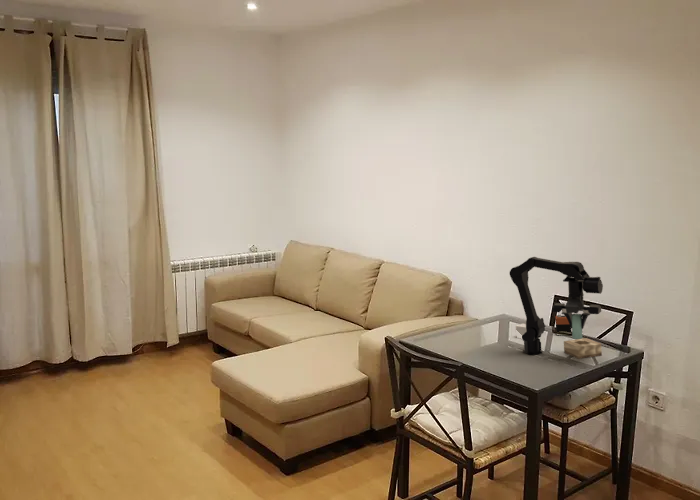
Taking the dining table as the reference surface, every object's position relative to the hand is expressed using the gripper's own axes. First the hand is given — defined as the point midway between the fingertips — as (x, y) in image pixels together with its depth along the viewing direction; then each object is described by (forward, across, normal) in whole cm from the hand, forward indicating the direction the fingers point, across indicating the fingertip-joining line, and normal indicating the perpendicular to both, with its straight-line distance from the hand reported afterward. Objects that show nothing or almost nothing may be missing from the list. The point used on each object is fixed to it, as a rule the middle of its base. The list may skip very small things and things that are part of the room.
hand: (577, 328), depth 258 cm
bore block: (+13, 0, +7) cm, 15 cm away
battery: (+13, -16, +36) cm, 42 cm away
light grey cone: (+13, -32, +26) cm, 43 cm away
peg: (+4, 0, 0) cm, 4 cm away
